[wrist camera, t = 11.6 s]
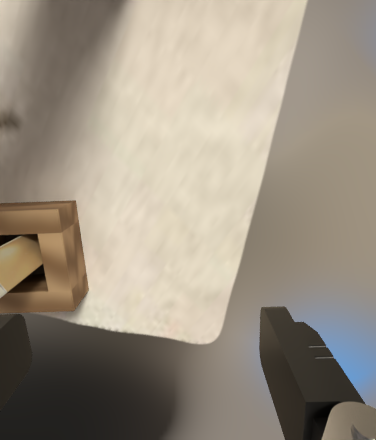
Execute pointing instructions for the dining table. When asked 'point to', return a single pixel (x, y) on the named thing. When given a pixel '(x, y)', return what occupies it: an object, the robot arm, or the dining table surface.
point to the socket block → (46, 256)
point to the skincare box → (18, 260)
